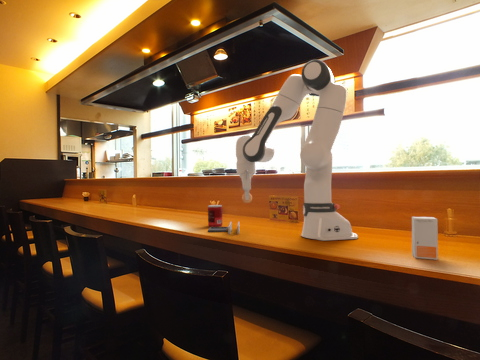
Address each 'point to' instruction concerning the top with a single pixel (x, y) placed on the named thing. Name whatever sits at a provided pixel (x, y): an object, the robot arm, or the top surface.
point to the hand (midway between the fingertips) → (247, 199)
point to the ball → (245, 199)
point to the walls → (231, 227)
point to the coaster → (218, 229)
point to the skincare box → (425, 237)
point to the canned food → (215, 215)
